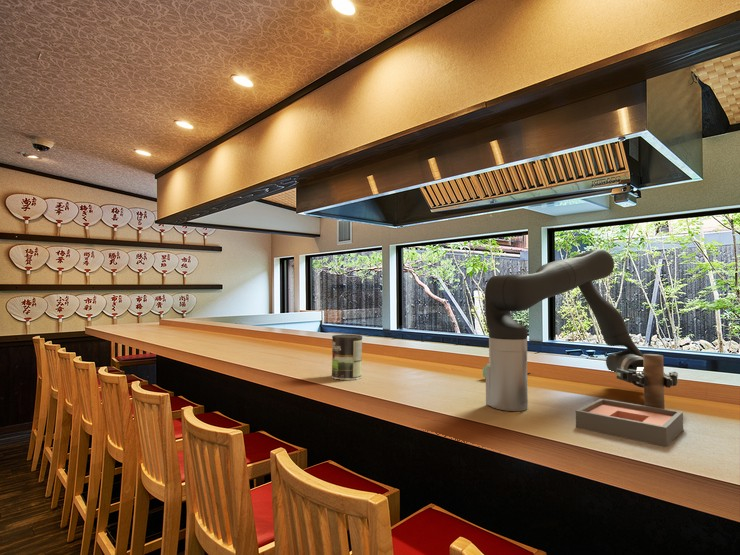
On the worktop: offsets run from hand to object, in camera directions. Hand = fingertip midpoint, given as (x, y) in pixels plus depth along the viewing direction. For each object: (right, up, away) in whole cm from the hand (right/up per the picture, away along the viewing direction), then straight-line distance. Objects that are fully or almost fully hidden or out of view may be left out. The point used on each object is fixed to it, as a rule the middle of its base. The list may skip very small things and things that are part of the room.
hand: (657, 382), depth 98 cm
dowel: (+1, -8, +2) cm, 8 cm away
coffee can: (-75, -10, +44) cm, 88 cm away
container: (-18, -11, +50) cm, 54 cm away
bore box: (-12, -7, -9) cm, 17 cm away
